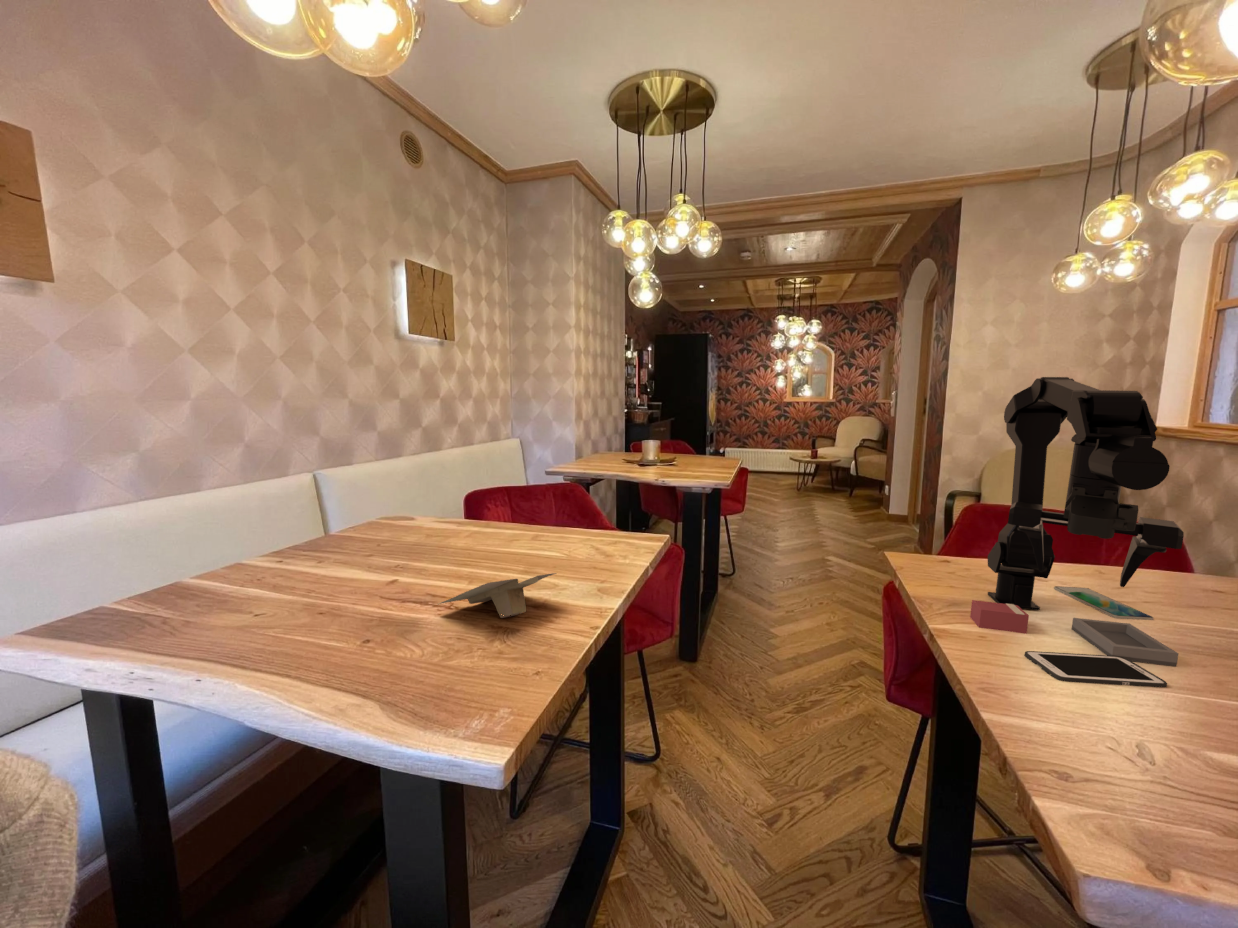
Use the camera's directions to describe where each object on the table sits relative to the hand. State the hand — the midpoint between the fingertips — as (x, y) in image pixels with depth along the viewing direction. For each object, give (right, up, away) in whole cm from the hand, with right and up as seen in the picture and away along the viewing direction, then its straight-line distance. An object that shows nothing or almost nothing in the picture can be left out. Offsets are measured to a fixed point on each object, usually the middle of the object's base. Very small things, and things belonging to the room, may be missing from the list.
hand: (1079, 578), depth 78 cm
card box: (-3, -11, +13) cm, 18 cm away
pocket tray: (+12, -12, +6) cm, 18 cm away
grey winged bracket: (-91, -10, +15) cm, 93 cm away
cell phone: (+1, -14, -1) cm, 14 cm away
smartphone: (+25, -11, +24) cm, 37 cm away
